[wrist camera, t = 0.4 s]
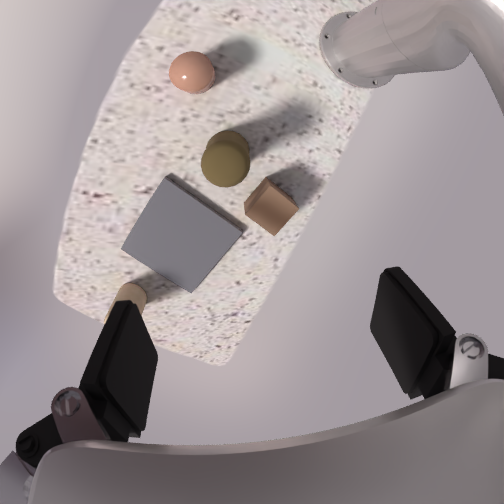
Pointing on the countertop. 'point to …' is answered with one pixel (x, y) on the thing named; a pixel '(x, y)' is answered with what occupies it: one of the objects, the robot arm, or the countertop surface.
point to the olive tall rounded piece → (226, 159)
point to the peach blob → (192, 72)
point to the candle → (130, 297)
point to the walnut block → (270, 206)
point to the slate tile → (180, 236)
